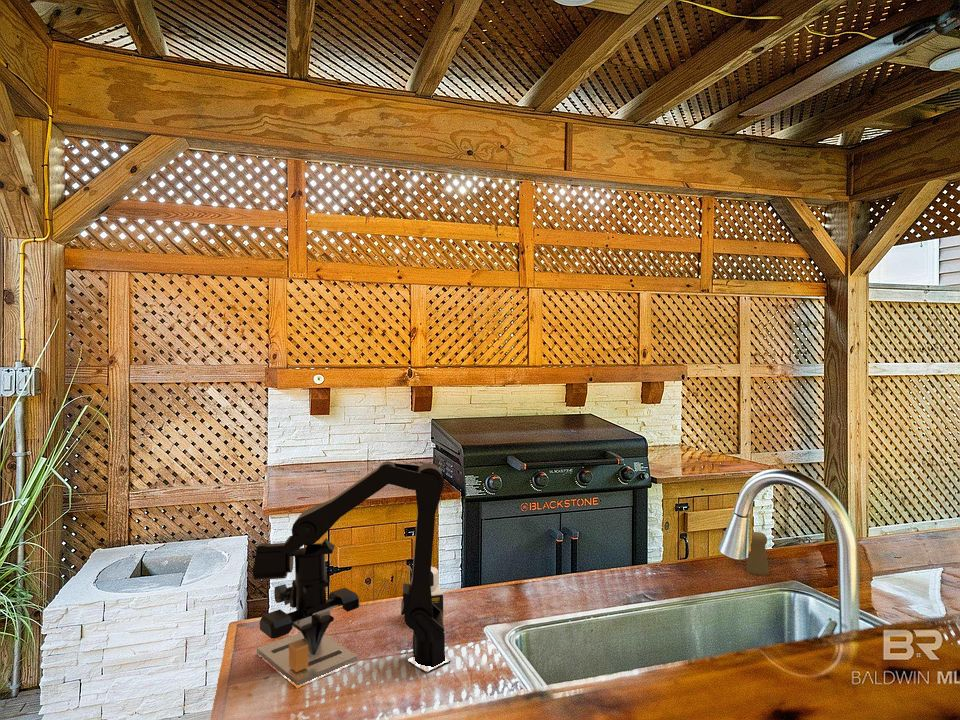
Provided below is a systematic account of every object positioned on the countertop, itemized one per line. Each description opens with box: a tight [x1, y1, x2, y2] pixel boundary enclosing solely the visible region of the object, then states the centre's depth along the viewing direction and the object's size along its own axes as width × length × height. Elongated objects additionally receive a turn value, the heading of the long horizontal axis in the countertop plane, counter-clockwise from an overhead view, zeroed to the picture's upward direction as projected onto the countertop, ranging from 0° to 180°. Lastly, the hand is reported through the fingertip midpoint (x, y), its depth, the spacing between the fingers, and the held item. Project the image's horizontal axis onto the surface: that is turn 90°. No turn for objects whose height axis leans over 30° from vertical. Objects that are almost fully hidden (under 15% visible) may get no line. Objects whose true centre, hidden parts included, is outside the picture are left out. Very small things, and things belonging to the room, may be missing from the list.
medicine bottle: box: [430, 565, 445, 621], centre depth 136 cm, size 7×7×12 cm
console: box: [256, 631, 359, 685], centre depth 118 cm, size 18×13×2 cm
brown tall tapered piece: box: [745, 531, 770, 576], centre depth 164 cm, size 6×6×11 cm
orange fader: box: [289, 639, 308, 672], centre depth 111 cm, size 3×2×4 cm
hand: (312, 654), depth 113 cm, fingers closed
